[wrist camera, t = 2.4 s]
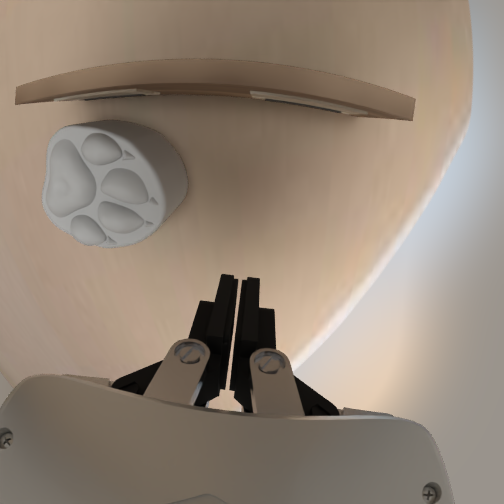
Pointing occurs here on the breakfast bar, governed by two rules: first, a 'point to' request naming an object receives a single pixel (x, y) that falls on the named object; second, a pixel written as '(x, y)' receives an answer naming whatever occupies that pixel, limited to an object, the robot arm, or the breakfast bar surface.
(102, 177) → the lumpy-topped squat cylinder
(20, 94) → the wooden panel
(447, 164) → the breakfast bar surface
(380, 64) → the breakfast bar surface
